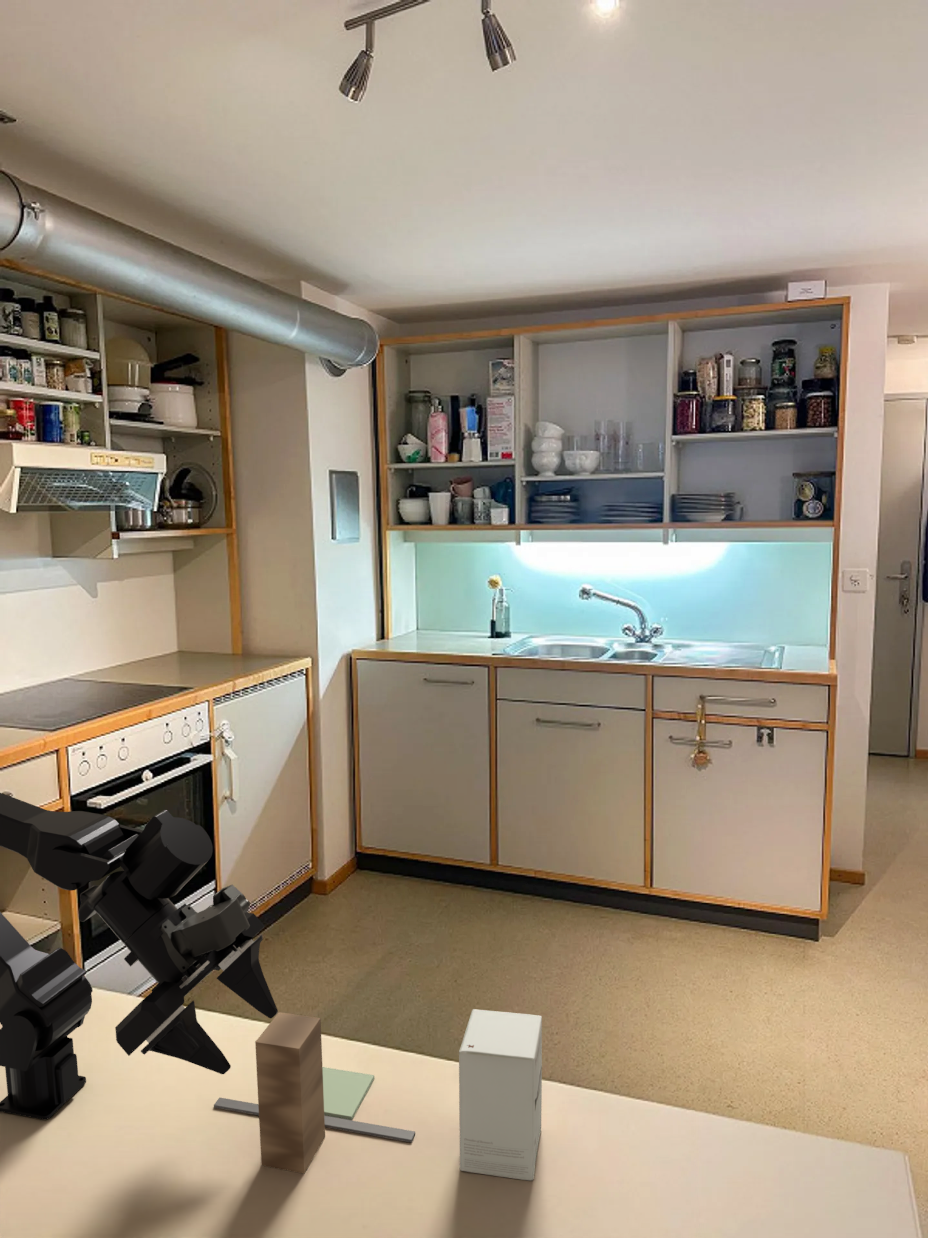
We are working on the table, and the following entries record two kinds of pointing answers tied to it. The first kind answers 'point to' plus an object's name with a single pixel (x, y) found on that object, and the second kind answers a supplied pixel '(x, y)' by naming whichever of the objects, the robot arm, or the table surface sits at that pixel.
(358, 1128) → the charcoal strip
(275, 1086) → the walnut post
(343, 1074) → the mat
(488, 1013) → the supplement box
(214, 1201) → the table surface
